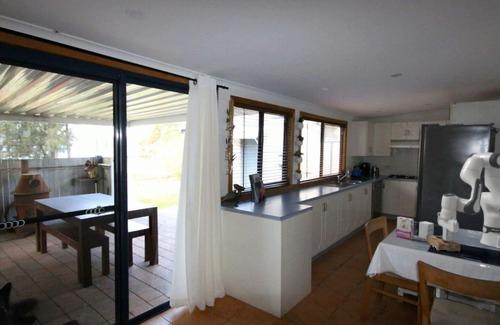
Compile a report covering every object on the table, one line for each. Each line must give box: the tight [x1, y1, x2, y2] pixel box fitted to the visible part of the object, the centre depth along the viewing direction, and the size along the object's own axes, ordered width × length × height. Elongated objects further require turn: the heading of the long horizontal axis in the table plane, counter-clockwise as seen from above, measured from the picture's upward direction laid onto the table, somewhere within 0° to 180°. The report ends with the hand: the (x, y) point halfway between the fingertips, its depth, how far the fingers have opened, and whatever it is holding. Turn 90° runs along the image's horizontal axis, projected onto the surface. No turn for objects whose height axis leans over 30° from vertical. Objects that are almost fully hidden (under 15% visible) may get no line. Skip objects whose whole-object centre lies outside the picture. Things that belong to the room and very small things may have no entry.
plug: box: [442, 227, 453, 241], centre depth 190 cm, size 4×4×10 cm
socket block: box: [425, 235, 461, 253], centre depth 195 cm, size 14×18×5 cm
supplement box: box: [418, 220, 435, 240], centre depth 213 cm, size 7×7×13 cm
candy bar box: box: [396, 216, 415, 241], centre depth 213 cm, size 11×5×16 cm, turn 37°
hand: (447, 234), depth 190 cm, fingers closed on plug, 4 cm apart
